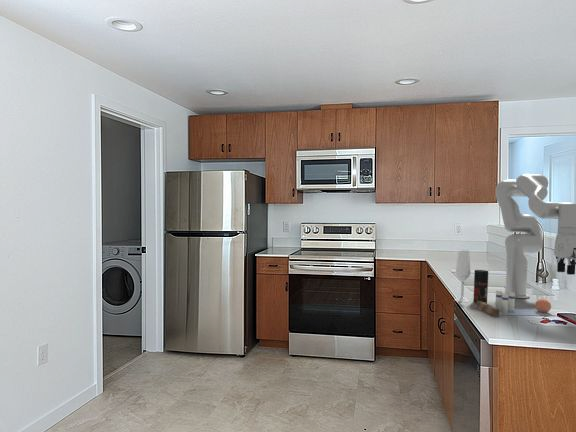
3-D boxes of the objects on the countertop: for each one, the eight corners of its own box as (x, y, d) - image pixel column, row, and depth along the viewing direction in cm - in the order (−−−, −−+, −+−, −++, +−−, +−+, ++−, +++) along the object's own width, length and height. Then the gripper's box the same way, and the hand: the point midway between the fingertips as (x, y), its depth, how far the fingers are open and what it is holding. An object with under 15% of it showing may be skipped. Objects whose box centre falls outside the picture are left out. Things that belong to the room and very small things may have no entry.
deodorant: (475, 300, 217) (476, 269, 216) (488, 302, 213) (489, 270, 212) (471, 302, 212) (472, 270, 211) (484, 304, 208) (486, 272, 208)
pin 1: (494, 309, 198) (494, 290, 198) (499, 309, 198) (500, 290, 198) (497, 311, 196) (497, 291, 195) (502, 311, 196) (503, 291, 195)
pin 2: (500, 312, 193) (500, 293, 193) (505, 312, 193) (506, 293, 193) (503, 314, 191) (503, 294, 190) (508, 314, 191) (509, 294, 190)
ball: (531, 310, 198) (532, 297, 198) (545, 311, 198) (545, 297, 198) (540, 314, 192) (540, 300, 192) (553, 314, 192) (554, 300, 192)
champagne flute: (470, 300, 217) (472, 250, 216) (467, 302, 211) (469, 251, 210) (456, 298, 221) (458, 249, 220) (452, 300, 215) (454, 250, 214)
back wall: (476, 307, 202) (476, 300, 202) (480, 307, 202) (481, 300, 202) (494, 316, 186) (494, 309, 186) (499, 316, 186) (499, 309, 186)
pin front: (506, 311, 196) (507, 292, 195) (512, 311, 196) (513, 292, 196) (509, 312, 193) (510, 293, 193) (515, 313, 193) (516, 293, 193)
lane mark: (484, 308, 200) (484, 308, 200) (539, 309, 201) (539, 309, 201) (497, 315, 189) (497, 314, 189) (555, 315, 190) (555, 315, 190)
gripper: (547, 229, 203) (545, 269, 203) (572, 232, 186) (570, 276, 186) (563, 230, 203) (561, 270, 204) (590, 233, 186) (588, 276, 187)
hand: (565, 272), depth 195 cm, fingers open, 5 cm apart
